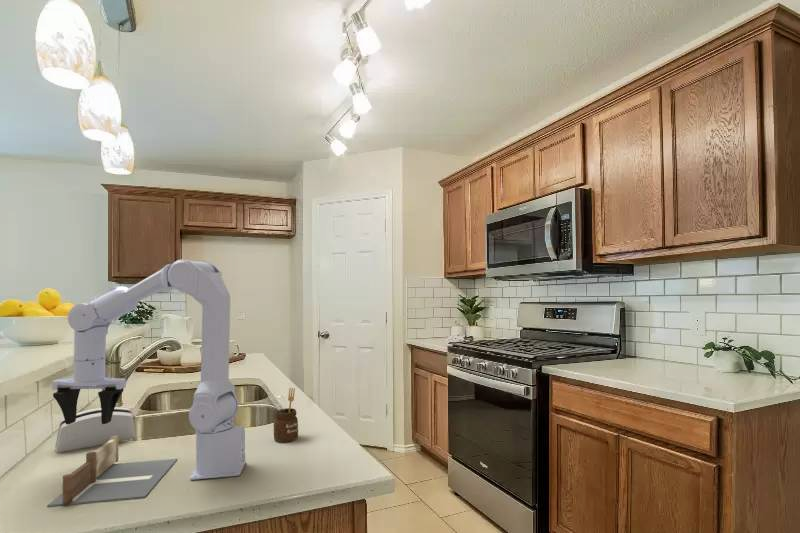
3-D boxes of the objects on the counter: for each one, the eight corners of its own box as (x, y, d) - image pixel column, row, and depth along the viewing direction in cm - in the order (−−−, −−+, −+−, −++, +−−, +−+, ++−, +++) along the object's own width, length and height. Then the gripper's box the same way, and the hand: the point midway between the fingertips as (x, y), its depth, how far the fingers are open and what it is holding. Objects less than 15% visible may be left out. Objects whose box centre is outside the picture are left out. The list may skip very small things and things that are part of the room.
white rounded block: (132, 433, 124) (134, 399, 122) (135, 443, 121) (137, 409, 119) (55, 447, 114) (55, 411, 112) (55, 459, 111) (55, 422, 109)
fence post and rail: (97, 482, 92) (97, 451, 93) (70, 505, 82) (70, 470, 83) (88, 482, 92) (88, 452, 92) (60, 506, 82) (60, 471, 82)
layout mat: (177, 460, 103) (177, 458, 103) (145, 497, 85) (145, 495, 85) (98, 466, 101) (98, 464, 101) (47, 506, 82) (47, 504, 82)
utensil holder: (268, 442, 114) (268, 392, 115) (283, 434, 120) (282, 387, 121) (289, 444, 112) (289, 393, 113) (303, 435, 118) (302, 388, 119)
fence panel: (97, 478, 93) (97, 450, 93) (90, 479, 92) (90, 451, 93) (119, 460, 103) (119, 435, 103) (112, 460, 102) (112, 435, 103)
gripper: (134, 356, 105) (133, 417, 104) (69, 356, 104) (67, 418, 104) (115, 361, 97) (113, 426, 97) (45, 361, 97) (43, 427, 97)
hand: (88, 423), depth 100 cm, fingers open, 7 cm apart
